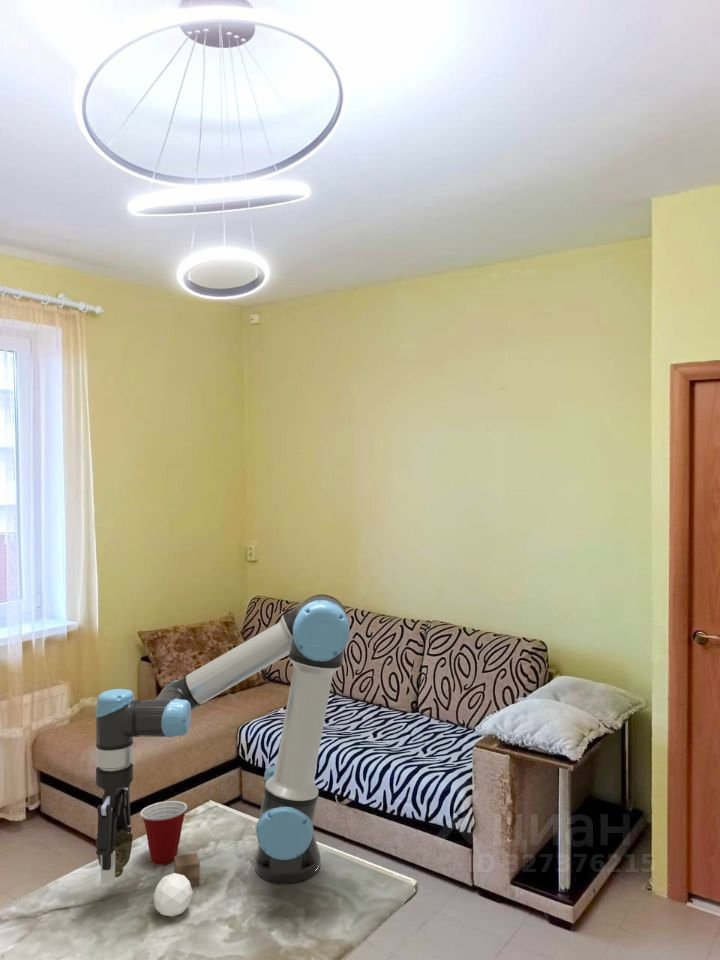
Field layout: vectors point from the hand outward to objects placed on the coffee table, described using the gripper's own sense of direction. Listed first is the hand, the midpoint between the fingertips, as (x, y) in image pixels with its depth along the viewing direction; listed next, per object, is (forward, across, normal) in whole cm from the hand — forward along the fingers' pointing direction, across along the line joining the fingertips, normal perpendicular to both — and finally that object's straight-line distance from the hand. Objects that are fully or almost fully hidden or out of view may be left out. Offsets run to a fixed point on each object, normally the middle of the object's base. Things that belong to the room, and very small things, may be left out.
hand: (114, 873), depth 152 cm
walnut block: (+6, -8, +14) cm, 17 cm away
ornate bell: (+1, 0, 0) cm, 1 cm away
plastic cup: (+6, -18, +6) cm, 20 cm away
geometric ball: (+6, +4, +14) cm, 15 cm away
